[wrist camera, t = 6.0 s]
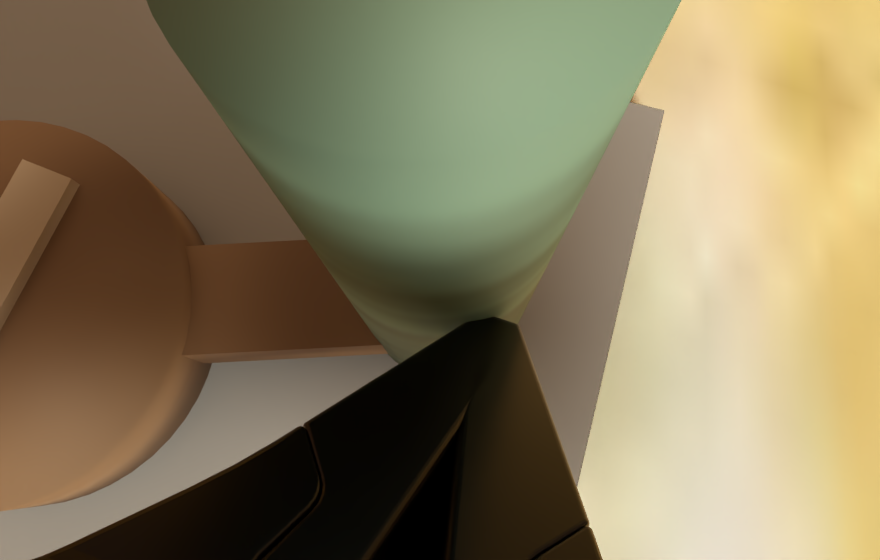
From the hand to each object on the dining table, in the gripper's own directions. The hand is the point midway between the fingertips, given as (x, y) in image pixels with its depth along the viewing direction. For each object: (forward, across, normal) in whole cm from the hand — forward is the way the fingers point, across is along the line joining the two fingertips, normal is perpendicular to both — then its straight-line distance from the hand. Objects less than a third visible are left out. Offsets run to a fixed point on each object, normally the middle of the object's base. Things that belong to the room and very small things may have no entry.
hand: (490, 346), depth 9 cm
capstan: (+4, +8, +4) cm, 10 cm away
